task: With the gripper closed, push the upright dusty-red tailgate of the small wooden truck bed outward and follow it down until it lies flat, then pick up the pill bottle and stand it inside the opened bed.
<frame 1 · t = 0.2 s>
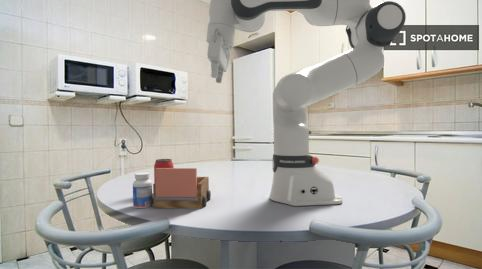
hand: (216, 80, 90), 38 cm above the table, tool pointing down, fingers open, 8 cm apart
beer can: (164, 194, 98), on the table
pill bottle: (142, 206, 82), on the table
tailgate: (176, 184, 78), point 7 cm above the table, hinge at 0.0°
truck bed: (183, 202, 85), on the table
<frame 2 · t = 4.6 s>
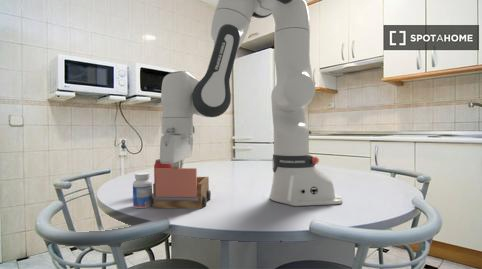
hand: (177, 175, 80), 9 cm above the table, tool pointing down, fingers closed
tailgate: (176, 184, 78), point 7 cm above the table, hinge at 0.3°, touching gripper
everything else where it was.
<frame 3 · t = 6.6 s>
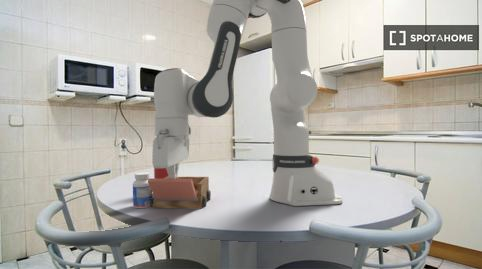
hand: (173, 180, 75), 9 cm above the table, tool pointing down, fingers closed
tailgate: (173, 190, 76), point 6 cm above the table, hinge at 42.4°, touching gripper
everything else where it was.
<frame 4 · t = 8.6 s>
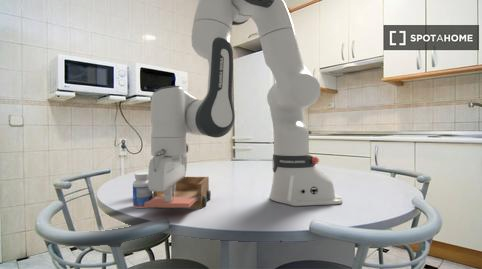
hand: (169, 200, 72), 4 cm above the table, tool pointing down, fingers closed, pressing on tailgate
tailgate: (172, 201, 74), point 3 cm above the table, hinge at 86.9°, touching gripper
everything else where it was.
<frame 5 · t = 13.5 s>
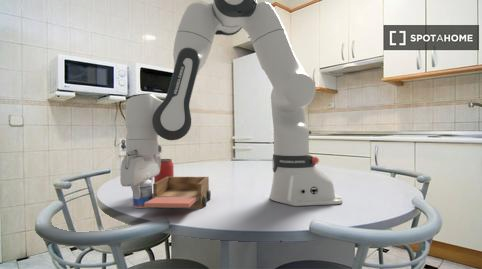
hand: (142, 195, 82), 3 cm above the table, tool pointing down, fingers closed on pill bottle, 5 cm apart
pill bottle: (142, 206, 82), on the table, touching gripper
tailgate: (172, 201, 74), point 3 cm above the table, hinge at 86.9°
everything else where it was.
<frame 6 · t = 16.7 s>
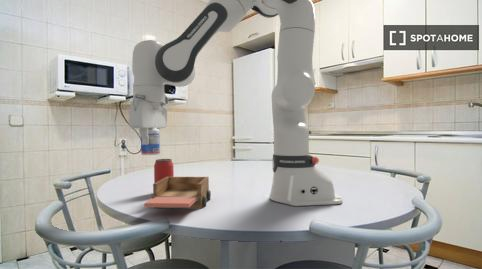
hand: (150, 143, 82), 18 cm above the table, tool pointing down, fingers closed on pill bottle, 5 cm apart
pill bottle: (150, 155, 82), point 15 cm above the table, touching gripper
everything else where it was.
when the fingers open (8 cm above the table, at t = 20.0 s): pill bottle drops 2 cm, resting on truck bed.
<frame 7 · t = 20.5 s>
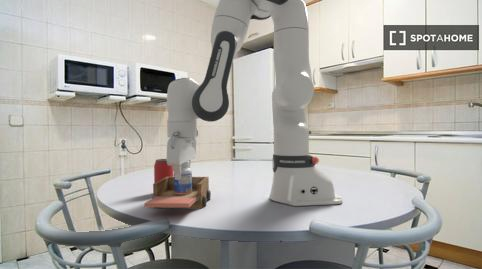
hand: (182, 176, 85), 8 cm above the table, tool pointing down, fingers open, 8 cm apart
pill bottle: (183, 193, 85), point 3 cm above the table, touching truck bed
everything else where it was.
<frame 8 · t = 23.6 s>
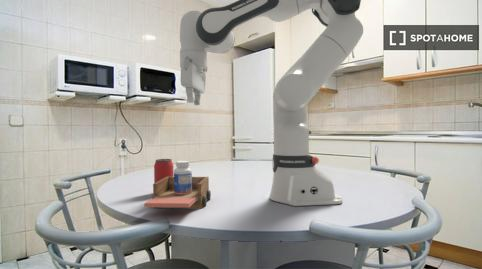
hand: (193, 104, 92), 31 cm above the table, tool pointing down, fingers open, 8 cm apart
nothing on the table moved.
at the end: tailgate at +87° (first picture: +0°); pill bottle inside the target area on the truck bed (0.8 cm from its centre), point 2.8 cm above the truck bed's base; pill bottle tilted 0° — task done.
